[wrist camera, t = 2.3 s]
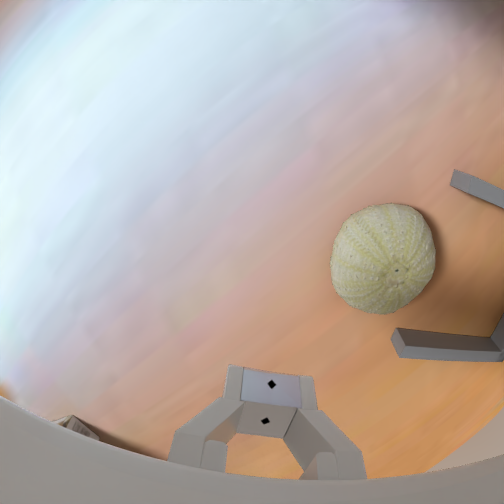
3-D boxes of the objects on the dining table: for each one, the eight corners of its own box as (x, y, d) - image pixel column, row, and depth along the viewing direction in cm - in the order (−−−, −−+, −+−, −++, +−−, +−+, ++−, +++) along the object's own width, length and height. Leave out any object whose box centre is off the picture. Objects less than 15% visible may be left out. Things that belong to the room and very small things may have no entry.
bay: (390, 339, 30) (399, 357, 27) (454, 169, 23) (472, 175, 21) (491, 347, 31) (502, 361, 28) (549, 216, 24) (565, 224, 21)
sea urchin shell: (304, 297, 26) (356, 269, 19) (325, 217, 30) (371, 170, 22) (391, 330, 28) (455, 313, 20) (402, 254, 31) (457, 223, 23)
